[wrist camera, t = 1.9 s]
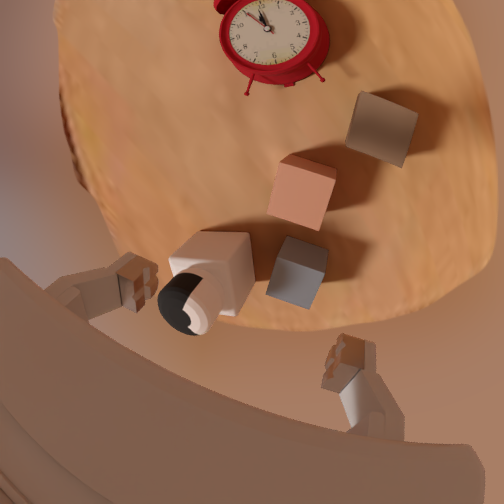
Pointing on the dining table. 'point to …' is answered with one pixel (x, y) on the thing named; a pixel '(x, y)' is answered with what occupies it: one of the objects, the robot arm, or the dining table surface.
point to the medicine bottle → (207, 280)
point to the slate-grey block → (298, 272)
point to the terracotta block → (302, 191)
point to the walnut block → (381, 128)
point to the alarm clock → (273, 39)
